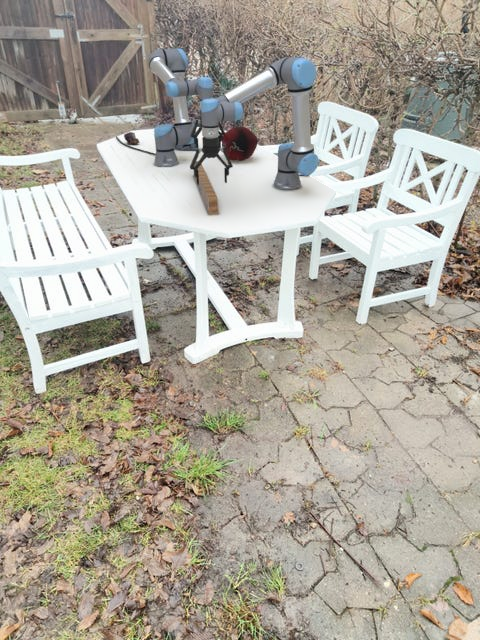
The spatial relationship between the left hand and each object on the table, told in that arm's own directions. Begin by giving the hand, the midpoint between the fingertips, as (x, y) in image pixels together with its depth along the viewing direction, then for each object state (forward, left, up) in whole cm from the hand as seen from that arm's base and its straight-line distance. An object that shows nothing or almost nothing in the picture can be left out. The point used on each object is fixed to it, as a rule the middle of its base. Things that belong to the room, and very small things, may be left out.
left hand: (208, 148), depth 261 cm
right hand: (+41, -37, -3) cm, 55 cm away
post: (+18, -22, -16) cm, 33 cm away
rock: (-103, +19, -16) cm, 106 cm away
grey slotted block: (-62, +37, -16) cm, 74 cm away
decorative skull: (-13, +41, -16) cm, 46 cm away
